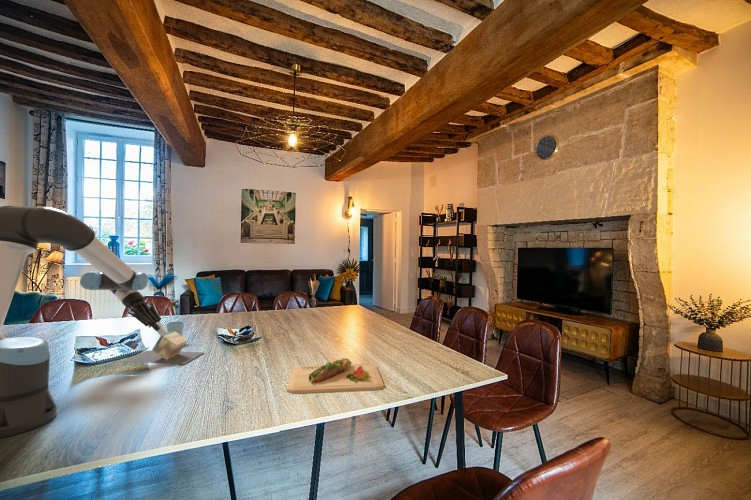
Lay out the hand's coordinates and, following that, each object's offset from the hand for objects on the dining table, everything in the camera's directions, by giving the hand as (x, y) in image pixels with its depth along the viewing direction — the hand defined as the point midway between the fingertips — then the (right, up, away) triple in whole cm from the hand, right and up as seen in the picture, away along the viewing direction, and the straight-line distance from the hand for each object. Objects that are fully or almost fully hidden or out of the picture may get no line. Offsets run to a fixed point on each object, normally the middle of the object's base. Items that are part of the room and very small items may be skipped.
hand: (165, 334), depth 143 cm
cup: (-10, -11, +22) cm, 26 cm away
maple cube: (-1, -2, 0) cm, 3 cm away
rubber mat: (0, -11, 0) cm, 11 cm away
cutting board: (+79, -13, -18) cm, 82 cm away
